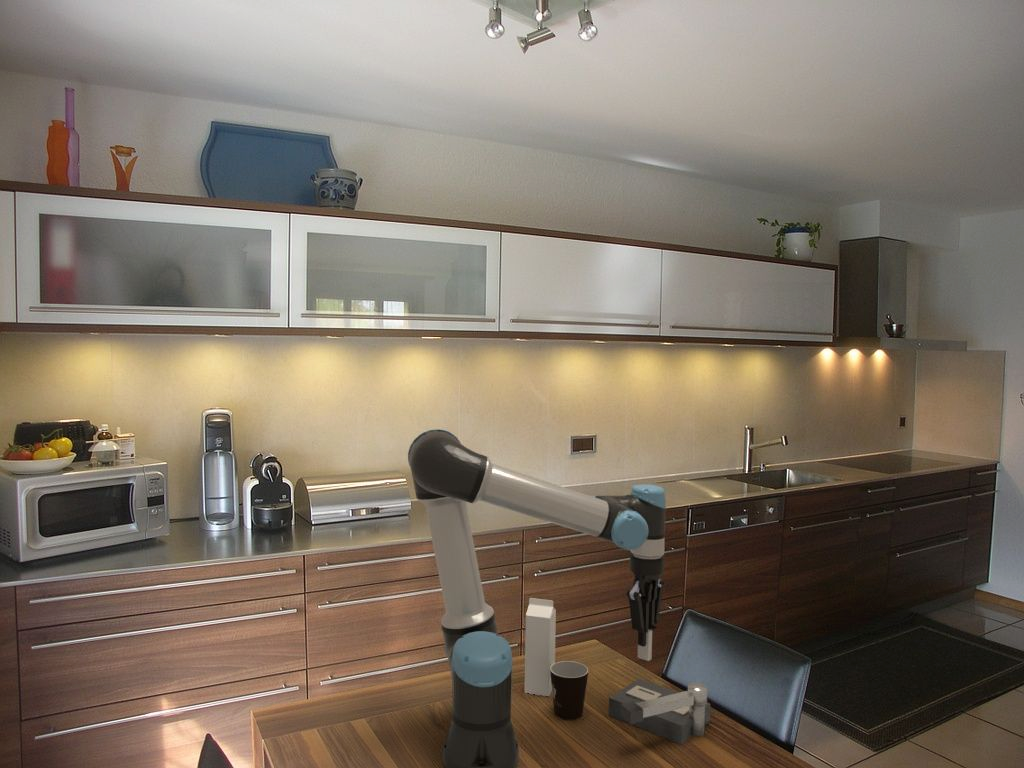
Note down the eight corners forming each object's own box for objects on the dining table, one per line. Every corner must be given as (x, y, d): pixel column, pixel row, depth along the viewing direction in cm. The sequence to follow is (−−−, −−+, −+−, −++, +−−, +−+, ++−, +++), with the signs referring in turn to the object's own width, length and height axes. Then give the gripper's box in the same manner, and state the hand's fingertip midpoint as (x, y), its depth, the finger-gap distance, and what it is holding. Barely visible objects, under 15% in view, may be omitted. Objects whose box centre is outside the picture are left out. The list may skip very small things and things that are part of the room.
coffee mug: (585, 724, 156) (586, 679, 156) (546, 720, 158) (547, 675, 157) (590, 699, 167) (591, 657, 167) (553, 695, 169) (554, 654, 169)
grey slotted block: (608, 715, 160) (609, 686, 160) (639, 695, 170) (639, 668, 170) (688, 747, 147) (689, 716, 147) (716, 723, 157) (717, 694, 157)
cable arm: (698, 695, 156) (698, 681, 156) (710, 703, 152) (711, 689, 152) (619, 715, 147) (620, 699, 147) (631, 724, 143) (631, 708, 143)
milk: (530, 682, 176) (532, 593, 175) (554, 686, 174) (556, 596, 173) (524, 693, 170) (525, 601, 169) (549, 697, 168) (550, 604, 167)
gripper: (647, 545, 168) (644, 645, 169) (616, 557, 158) (614, 662, 159) (676, 552, 163) (673, 654, 164) (646, 564, 153) (644, 672, 154)
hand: (644, 658), depth 161 cm, fingers closed
